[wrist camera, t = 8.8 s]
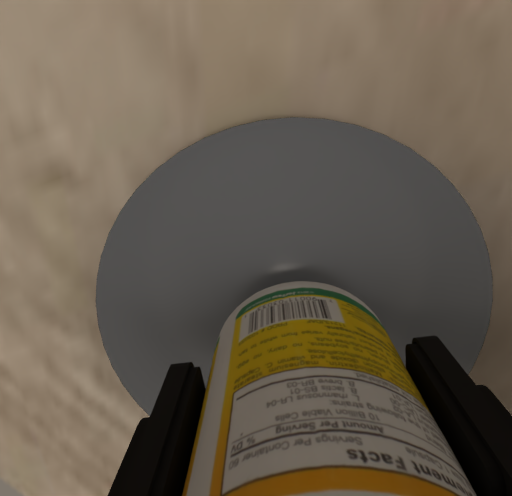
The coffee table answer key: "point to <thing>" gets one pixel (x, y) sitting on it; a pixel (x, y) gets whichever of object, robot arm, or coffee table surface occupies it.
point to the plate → (287, 244)
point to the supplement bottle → (315, 406)
